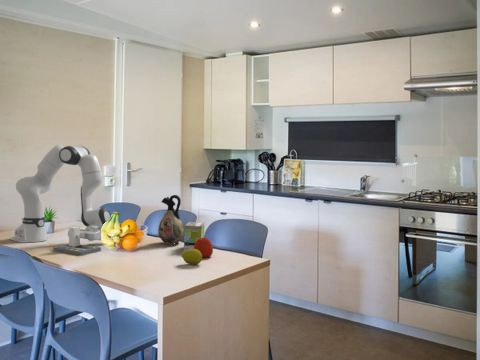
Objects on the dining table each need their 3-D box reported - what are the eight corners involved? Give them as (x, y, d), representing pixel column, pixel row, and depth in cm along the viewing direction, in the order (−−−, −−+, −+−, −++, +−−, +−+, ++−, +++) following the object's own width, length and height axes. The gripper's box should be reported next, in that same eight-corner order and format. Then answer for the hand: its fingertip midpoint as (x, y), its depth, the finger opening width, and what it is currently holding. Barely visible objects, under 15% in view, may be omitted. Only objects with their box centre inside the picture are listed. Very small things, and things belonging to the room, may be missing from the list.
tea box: (201, 252, 253) (201, 225, 253) (183, 251, 254) (183, 225, 253) (204, 246, 269) (204, 222, 268) (187, 246, 269) (187, 221, 268)
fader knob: (66, 246, 249) (67, 227, 248) (74, 245, 253) (74, 226, 253) (74, 247, 246) (74, 228, 246) (81, 246, 251) (82, 227, 250)
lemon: (205, 264, 225) (205, 248, 224) (197, 267, 218) (197, 251, 217) (186, 261, 229) (187, 246, 229) (178, 265, 222) (178, 248, 222)
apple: (195, 259, 235) (195, 239, 235) (191, 255, 245) (192, 235, 245) (214, 258, 238) (214, 238, 238) (210, 254, 248) (210, 235, 248)
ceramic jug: (153, 244, 271) (153, 194, 269) (164, 240, 286) (165, 193, 284) (179, 247, 266) (180, 196, 264) (189, 242, 281) (190, 194, 279)
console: (53, 251, 248) (53, 246, 247) (73, 246, 260) (73, 242, 260) (81, 255, 238) (81, 250, 238) (100, 251, 250) (100, 246, 250)
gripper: (79, 225, 266) (60, 228, 253) (105, 229, 256) (86, 232, 244) (79, 236, 266) (60, 240, 254) (105, 240, 256) (86, 244, 244)
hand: (73, 236), depth 249 cm, fingers closed on fader knob, 4 cm apart
